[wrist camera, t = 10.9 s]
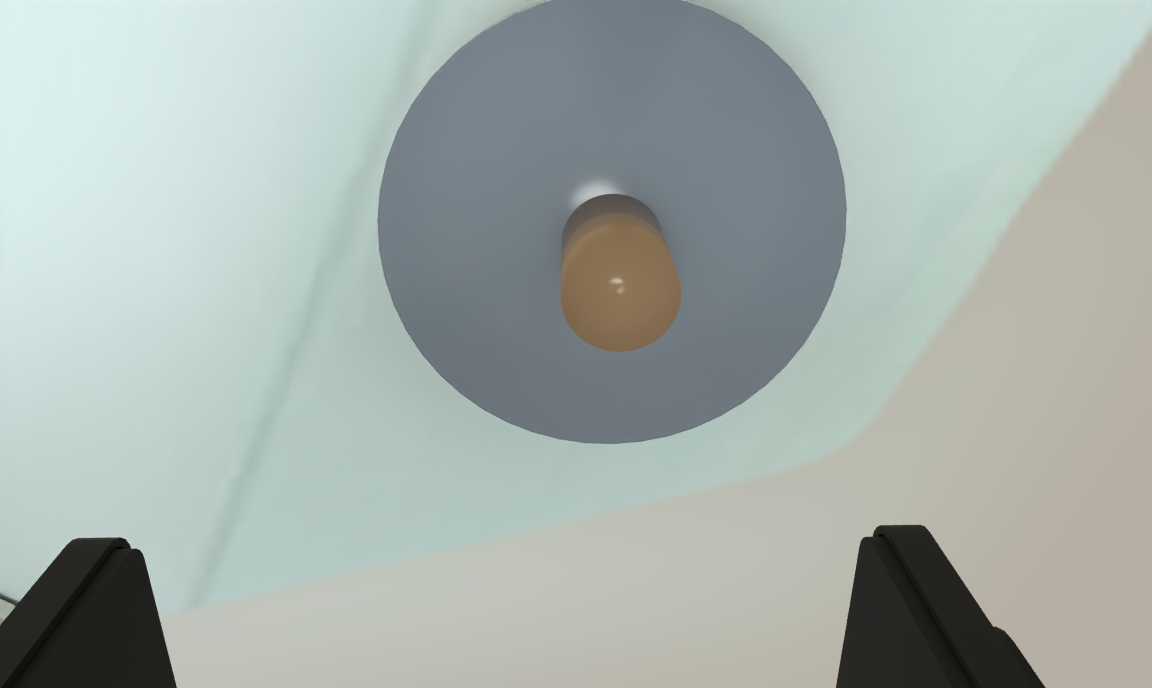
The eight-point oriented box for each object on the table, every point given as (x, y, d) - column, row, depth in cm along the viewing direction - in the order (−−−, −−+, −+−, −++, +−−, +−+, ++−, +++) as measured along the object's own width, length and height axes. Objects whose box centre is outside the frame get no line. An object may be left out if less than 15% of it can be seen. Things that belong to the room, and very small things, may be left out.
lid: (814, 422, 34) (864, 517, 28) (409, 433, 34) (378, 529, 28) (861, -17, 27) (939, -8, 21) (356, -4, 27) (301, 8, 21)
